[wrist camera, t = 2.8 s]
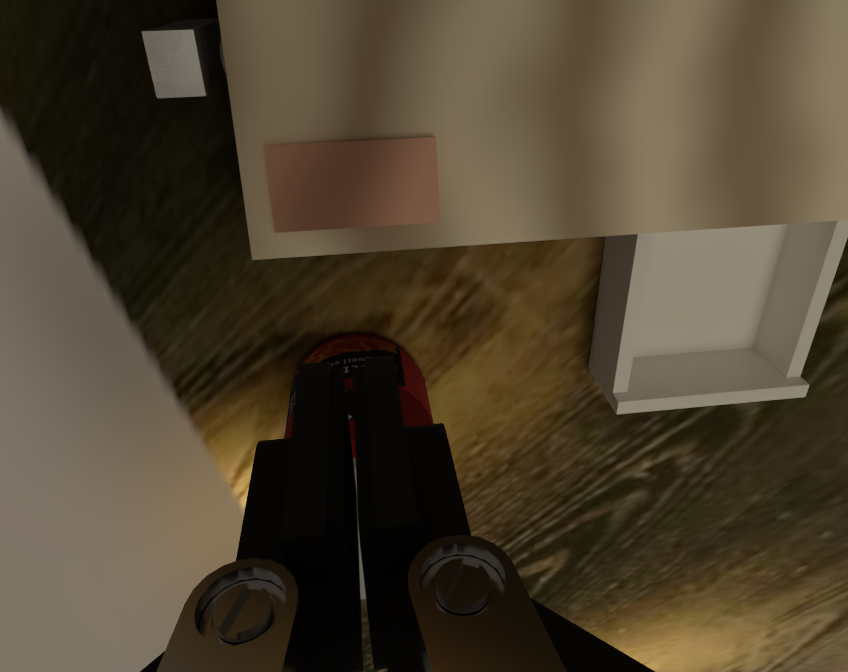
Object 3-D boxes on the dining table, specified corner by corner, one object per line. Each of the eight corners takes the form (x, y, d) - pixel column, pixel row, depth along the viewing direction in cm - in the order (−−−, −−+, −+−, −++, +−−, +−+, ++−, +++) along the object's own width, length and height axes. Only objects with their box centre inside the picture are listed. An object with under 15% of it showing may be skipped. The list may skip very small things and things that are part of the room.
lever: (951, -186, 22) (1056, -242, 19) (878, 211, 26) (953, 222, 23) (193, -179, 20) (160, -241, 16) (253, 252, 24) (236, 271, 21)
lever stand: (884, -6, 28) (1023, -2, 22) (869, 43, 29) (998, 59, 23) (187, 19, 25) (141, 31, 19) (197, 72, 26) (156, 98, 20)
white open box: (611, 192, 31) (648, 223, 27) (809, 180, 32) (871, 208, 28) (588, 369, 36) (616, 414, 33) (758, 354, 37) (805, 397, 33)
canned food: (397, 309, 33) (418, 443, 24) (443, 418, 37) (477, 569, 28) (265, 357, 34) (235, 506, 24) (325, 459, 38) (319, 621, 28)
